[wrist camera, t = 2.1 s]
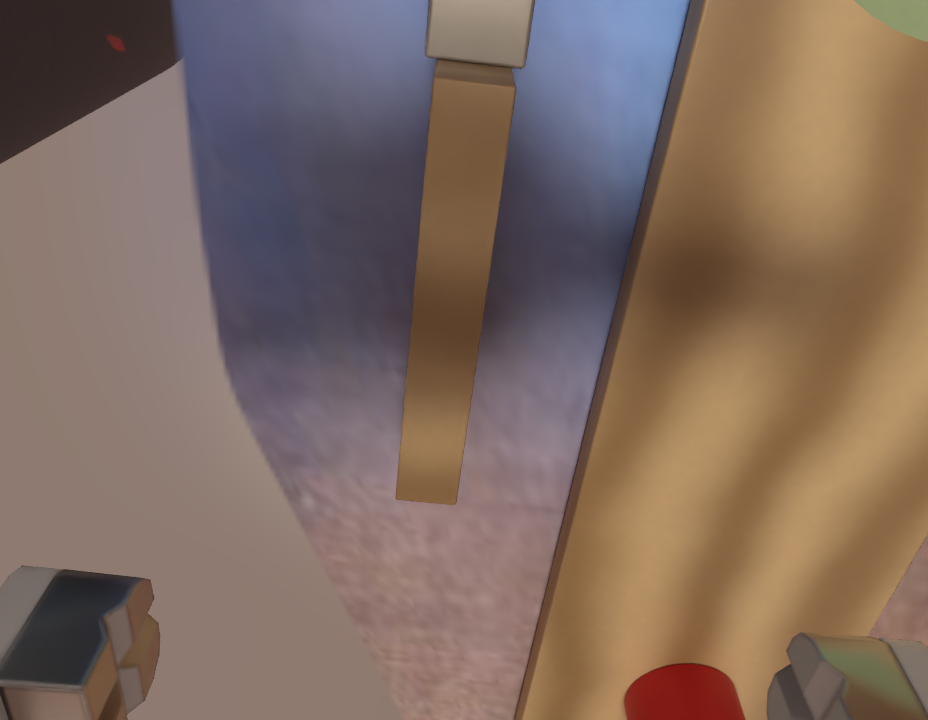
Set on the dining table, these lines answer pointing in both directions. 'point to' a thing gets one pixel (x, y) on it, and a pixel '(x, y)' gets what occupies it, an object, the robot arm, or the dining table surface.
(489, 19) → the tan wooden bar
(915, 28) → the plate
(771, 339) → the board
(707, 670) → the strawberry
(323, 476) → the dining table surface
